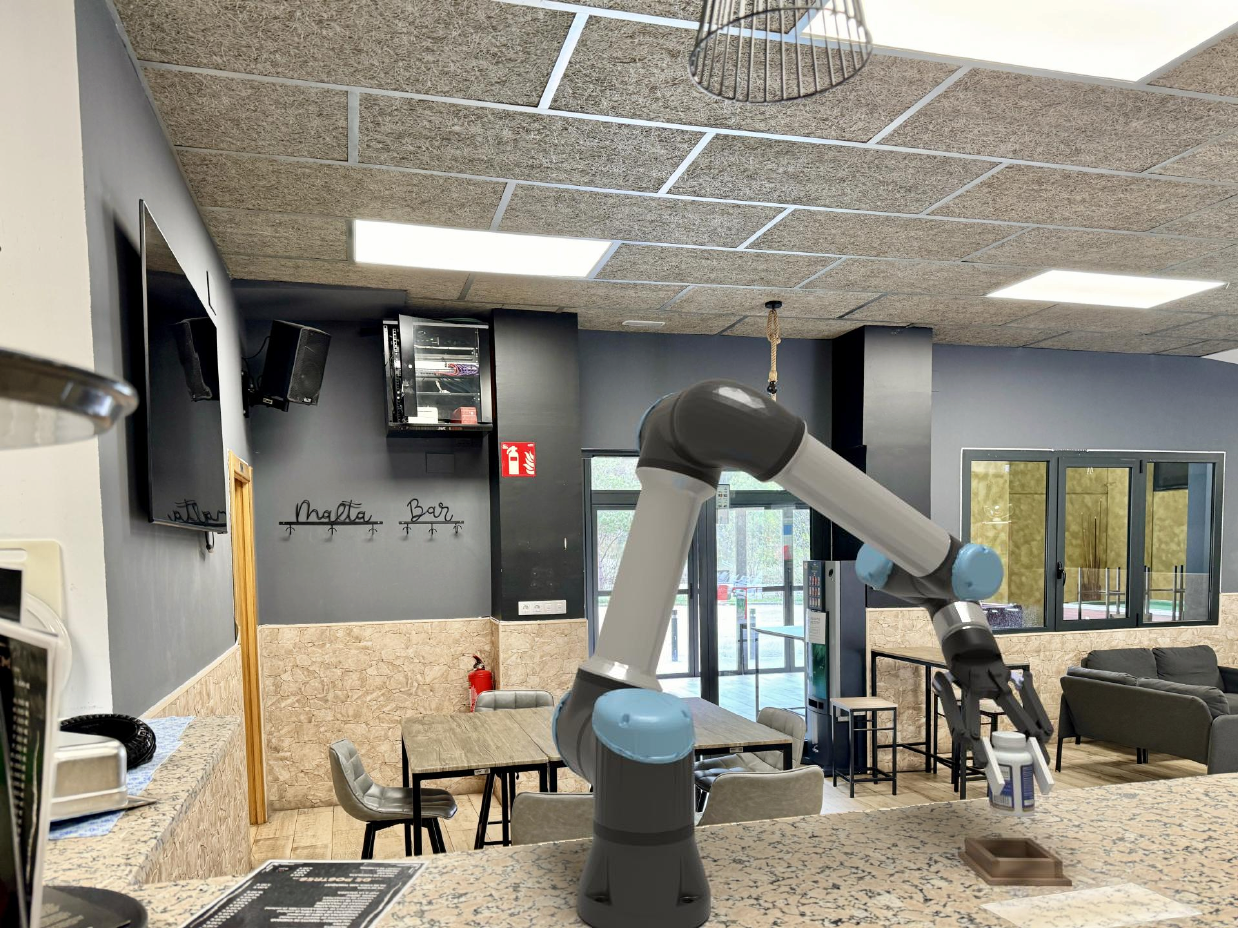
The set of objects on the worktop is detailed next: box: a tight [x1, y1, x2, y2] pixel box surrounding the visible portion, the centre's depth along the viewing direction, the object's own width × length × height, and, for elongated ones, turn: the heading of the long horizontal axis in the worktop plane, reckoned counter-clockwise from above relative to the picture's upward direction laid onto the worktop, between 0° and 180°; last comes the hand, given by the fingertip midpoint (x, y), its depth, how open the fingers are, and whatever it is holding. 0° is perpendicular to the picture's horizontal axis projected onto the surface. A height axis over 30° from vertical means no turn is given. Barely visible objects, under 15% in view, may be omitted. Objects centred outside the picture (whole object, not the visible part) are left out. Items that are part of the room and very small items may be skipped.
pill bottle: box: [987, 730, 1036, 818], centre depth 110 cm, size 5×5×10 cm
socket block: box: [957, 836, 1073, 887], centre depth 108 cm, size 10×10×3 cm
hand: (1023, 788), depth 106 cm, fingers closed on pill bottle, 5 cm apart
